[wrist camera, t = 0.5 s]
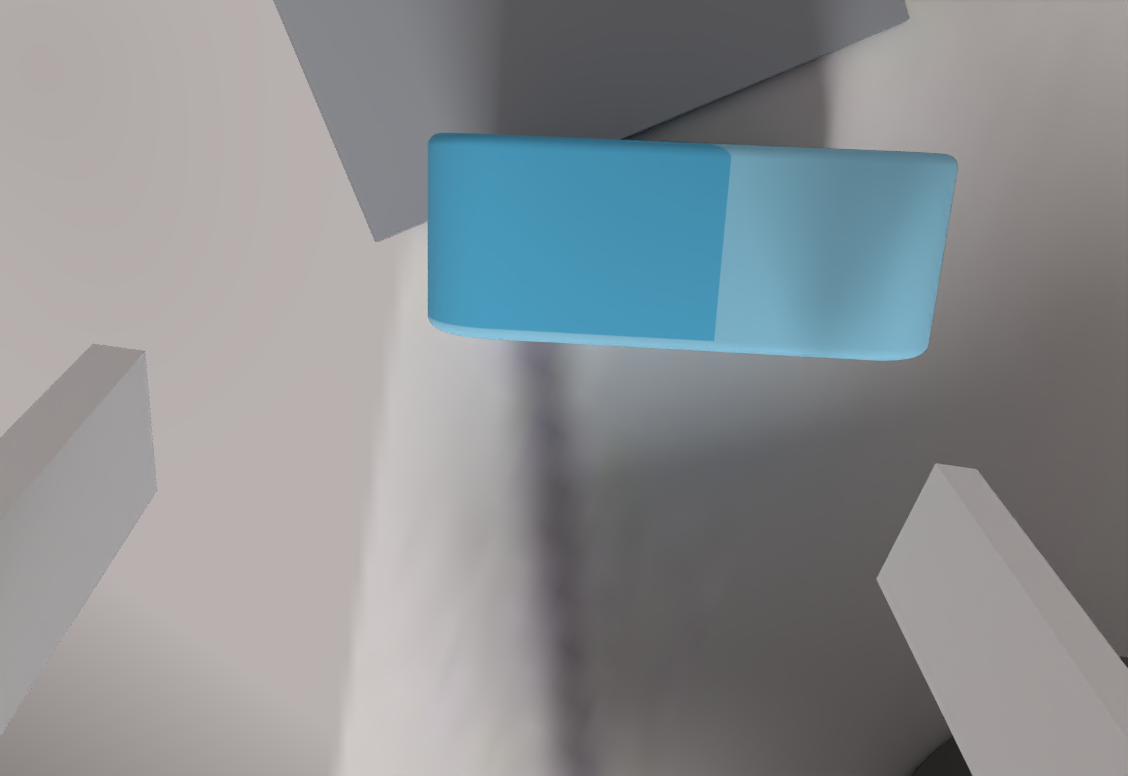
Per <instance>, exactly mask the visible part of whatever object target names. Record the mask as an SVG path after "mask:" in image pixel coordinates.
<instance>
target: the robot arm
mask: <svg viewBox="0 0 1128 776" xmlns="http://www.w3.org/2000/svg"><path fill="white" fill-rule="evenodd" d="M156 492H157V482H156V471H155V459H154V448H153V436H152V426H151V414H150V402H149V390H148V379H147V367H146V357H145V351H141V350H134V349H127V348H119V347H113V346H106V345H99V344H92V345H91V346H90V348H88V349H87V350H86V351H85V352H84V354H82V355H81V356H80V357H79V358H78V360H76V361H75V363H73V365H72V366H71V367H70V368H69V369H68V370H67V371H66V372H65V373H64V374H63V375H62V376H61V377H60V378H59V379H58V380H57V381H56V382H55V383H54V384H53V385H52V386H51V387H50V388H49V389H48V390H47V391H46V392H45V393H44V394H43V395H42V396H41V397H40V398H39V399H38V400H37V401H36V402H35V403H34V404H33V405H32V406H31V407H30V408H29V409H28V410H27V411H26V412H25V413H24V414H23V415H22V416H21V417H20V418H19V419H18V420H17V421H16V422H15V423H14V424H13V425H12V426H11V427H10V428H9V429H8V430H7V431H6V432H5V433H4V434H3V435H2V436H1V437H0V736H1V734H2V733H3V731H4V730H5V728H6V726H7V725H8V723H9V722H10V720H11V719H12V717H13V715H14V714H15V712H16V711H17V709H18V708H19V706H20V704H21V703H22V701H23V700H24V698H25V697H26V695H27V693H28V692H29V690H30V689H31V687H32V686H33V684H34V683H35V681H36V679H37V678H38V676H39V675H40V673H41V672H42V670H43V668H44V667H45V665H46V664H47V662H48V660H49V659H50V657H51V656H52V654H53V653H54V651H55V650H56V648H57V646H58V645H59V643H60V642H61V640H62V639H63V637H64V636H65V634H66V632H67V631H68V629H69V628H70V626H71V625H72V623H73V622H74V620H75V618H76V617H77V615H78V614H79V612H80V611H81V609H82V607H83V606H84V604H85V603H86V601H87V599H88V598H89V596H90V595H91V593H92V592H93V590H94V589H95V587H96V586H97V584H98V582H99V581H100V579H101V578H102V576H103V575H104V573H105V571H106V570H107V568H108V567H109V565H110V564H111V562H112V560H113V559H114V557H115V556H116V554H117V552H118V551H119V549H120V548H121V546H122V545H123V543H124V542H125V540H126V539H127V537H128V535H129V534H130V532H131V531H132V529H133V528H134V526H135V524H136V523H137V521H138V520H139V518H140V516H141V515H142V513H143V512H144V510H145V509H146V507H147V505H148V504H149V503H150V501H151V499H152V498H153V496H154V495H155V493H156ZM876 580H877V582H878V584H879V586H880V588H881V590H882V592H883V594H884V596H885V598H886V600H887V602H888V604H889V606H890V608H891V610H892V612H893V614H894V616H895V618H896V621H897V623H898V625H899V627H900V629H901V631H902V633H903V635H904V637H905V639H906V641H907V643H908V645H909V647H910V649H911V651H912V653H913V655H914V657H915V659H916V661H917V663H918V665H919V667H920V669H921V672H922V674H923V676H924V678H925V680H926V682H927V684H928V686H929V688H930V690H931V692H932V694H933V696H934V698H935V700H936V702H937V704H938V706H939V708H940V710H941V712H942V714H943V716H944V718H945V721H946V723H947V725H948V727H949V729H950V731H951V733H952V735H953V737H954V738H953V739H951V740H950V741H948V742H947V743H946V744H944V745H943V746H942V747H941V748H939V749H938V750H937V751H936V752H934V753H933V754H932V755H931V756H930V757H929V758H928V759H927V760H926V761H925V762H924V763H923V764H922V765H921V766H920V767H919V768H918V769H917V770H916V771H915V772H914V774H913V775H912V776H1128V658H1127V657H1119V656H1118V655H1117V654H1116V652H1115V651H1114V650H1113V648H1112V647H1111V646H1110V644H1109V643H1108V642H1107V640H1106V639H1105V638H1104V636H1103V635H1102V634H1101V632H1100V631H1099V630H1098V629H1097V627H1096V626H1095V625H1094V623H1093V622H1092V621H1091V619H1090V618H1089V617H1088V615H1087V614H1086V613H1085V611H1084V610H1083V609H1082V607H1081V606H1080V605H1079V603H1078V602H1077V601H1076V599H1075V598H1074V597H1073V596H1072V594H1071V593H1070V592H1069V590H1068V589H1067V588H1066V586H1065V585H1064V584H1063V582H1062V581H1061V580H1060V578H1059V577H1058V576H1057V574H1056V573H1055V572H1054V570H1053V569H1052V568H1051V566H1050V565H1049V564H1048V563H1047V561H1046V560H1045V559H1044V557H1043V556H1042V555H1041V553H1040V552H1039V551H1038V549H1037V548H1036V547H1035V545H1034V544H1033V543H1032V541H1031V540H1030V539H1029V537H1028V536H1027V535H1026V533H1025V532H1024V531H1023V530H1022V528H1021V527H1020V526H1019V524H1018V523H1017V522H1016V520H1015V519H1014V518H1013V516H1012V515H1011V514H1010V512H1009V511H1008V510H1007V508H1006V507H1005V506H1004V504H1003V503H1002V502H1001V500H1000V499H999V498H998V497H997V495H996V494H995V493H994V491H993V490H992V489H991V487H990V486H989V485H988V483H987V482H986V481H985V479H984V478H983V477H982V475H981V474H980V473H979V471H978V470H977V469H973V468H966V467H959V466H952V465H945V464H938V463H935V465H934V467H933V469H932V471H931V473H930V475H929V477H928V479H927V481H926V483H925V485H924V487H923V489H922V491H921V493H920V495H919V497H918V498H917V500H916V502H915V504H914V506H913V508H912V510H911V512H910V514H909V516H908V518H907V520H906V522H905V524H904V526H903V528H902V530H901V532H900V534H899V536H898V537H897V539H896V541H895V543H894V545H893V547H892V549H891V551H890V553H889V555H888V557H887V559H886V561H885V563H884V565H883V567H882V569H881V571H880V573H879V574H878V576H877V578H876Z"/></svg>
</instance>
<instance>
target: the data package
mask: <svg viewBox="0 0 1128 776" xmlns="http://www.w3.org/2000/svg"><path fill="white" fill-rule="evenodd" d="M957 169H958V164H957V161H956V160H955V158H954V157H952V156H950V155H947V154H937V153H922V152H901V151H878V150H854V149H830V148H807V147H783V146H760V145H736V144H712V143H689V142H665V141H642V140H618V139H594V138H571V137H547V136H524V135H500V134H475V133H437V134H434V135H433V136H432V137H431V138H430V139H429V141H428V318H429V320H430V322H431V324H432V325H433V326H434V327H436V328H437V329H439V330H441V331H444V332H447V333H450V334H454V335H459V336H465V337H472V338H483V339H500V340H518V341H535V342H553V343H571V344H589V345H607V346H625V347H643V348H660V349H678V350H696V351H714V352H732V353H750V354H768V355H785V356H803V357H821V358H839V359H857V360H877V361H889V360H903V359H910V358H914V357H917V356H919V355H921V354H922V353H924V352H925V350H926V349H927V347H928V345H929V339H930V333H931V327H932V321H933V315H934V309H935V303H936V297H937V291H938V284H939V278H940V272H941V266H942V260H943V254H944V248H945V242H946V236H947V230H948V224H949V218H950V212H951V206H952V199H953V193H954V187H955V181H956V175H957Z"/></svg>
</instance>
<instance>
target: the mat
mask: <svg viewBox="0 0 1128 776" xmlns="http://www.w3.org/2000/svg"><path fill="white" fill-rule="evenodd" d="M273 1H274V3H275V5H276V8H277V10H278V12H279V15H280V17H281V19H282V22H283V24H284V27H285V29H286V31H287V34H288V36H289V38H290V41H291V43H292V46H293V48H294V50H295V53H296V55H297V57H298V60H299V62H300V65H301V67H302V69H303V72H304V74H305V76H306V79H307V81H308V83H309V86H310V88H311V91H312V93H313V95H314V98H315V100H316V102H317V105H318V107H319V110H320V111H321V114H322V117H323V119H324V121H325V124H326V126H327V128H328V131H329V133H330V136H331V138H332V140H333V143H334V145H335V148H336V150H337V152H338V155H339V157H340V159H341V161H342V164H343V166H344V169H345V171H346V174H347V176H348V178H349V181H350V183H351V185H352V188H353V190H354V193H355V195H356V197H357V200H358V202H359V204H360V206H361V209H362V211H363V214H364V216H365V219H366V221H367V223H368V226H369V228H370V231H371V233H372V235H373V238H374V240H375V242H379V241H381V240H384V239H386V238H389V237H391V236H393V235H396V234H398V233H401V232H403V231H405V230H408V229H410V228H412V227H415V226H417V225H420V224H422V223H424V222H427V221H428V141H429V139H430V138H431V137H432V136H433V135H434V134H437V133H475V134H500V135H524V136H547V137H571V138H594V139H618V140H623V139H625V138H628V137H630V136H632V135H635V134H637V133H640V132H642V131H644V130H647V129H649V128H652V127H654V126H656V125H659V124H661V123H663V122H666V121H668V120H671V119H673V118H675V117H678V116H680V115H683V114H685V113H687V112H690V111H692V110H695V109H697V108H699V107H702V106H704V105H706V104H709V103H711V102H714V101H716V100H718V99H721V98H723V97H726V96H728V95H730V94H733V93H735V92H738V91H740V90H742V89H745V88H747V87H749V86H752V85H754V84H757V83H759V82H761V81H764V80H766V79H769V78H771V77H773V76H776V75H778V74H781V73H783V72H785V71H788V70H790V69H793V68H795V67H797V66H800V65H802V64H804V63H807V62H809V61H812V60H814V59H816V58H819V57H821V56H824V55H826V54H828V53H831V52H833V51H836V50H838V49H840V48H843V47H845V46H847V45H850V44H852V43H855V42H857V41H859V40H862V39H864V38H867V37H869V36H871V35H874V34H876V33H879V32H881V31H883V30H886V29H888V28H891V27H893V26H895V25H898V24H900V23H902V22H905V21H906V20H908V19H909V15H908V12H907V9H906V6H905V2H904V0H273Z"/></svg>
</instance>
